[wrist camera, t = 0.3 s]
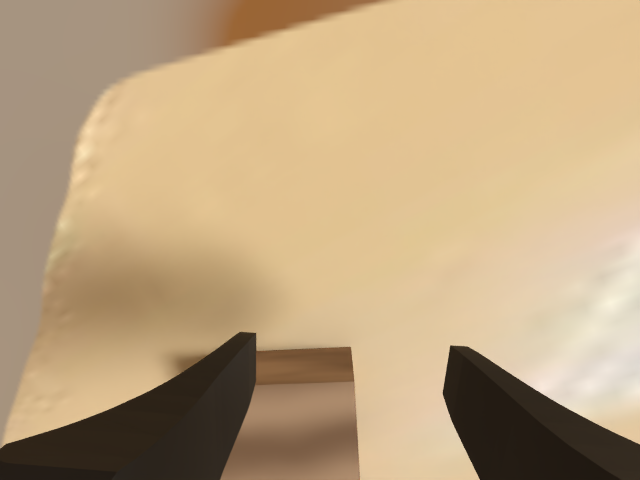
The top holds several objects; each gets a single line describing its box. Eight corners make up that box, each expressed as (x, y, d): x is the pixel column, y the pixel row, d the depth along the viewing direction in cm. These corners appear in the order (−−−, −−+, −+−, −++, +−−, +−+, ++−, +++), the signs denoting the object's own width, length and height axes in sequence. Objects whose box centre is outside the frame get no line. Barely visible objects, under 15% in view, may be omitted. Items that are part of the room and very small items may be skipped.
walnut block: (357, 453, 25) (361, 507, 21) (237, 456, 25) (219, 509, 21) (350, 344, 22) (354, 381, 18) (219, 350, 23) (195, 387, 19)
